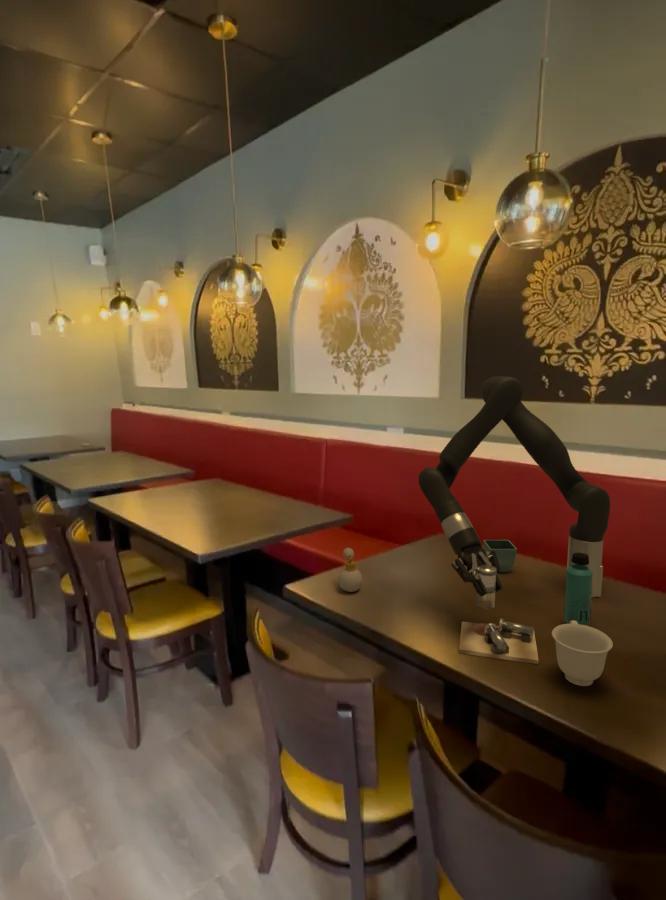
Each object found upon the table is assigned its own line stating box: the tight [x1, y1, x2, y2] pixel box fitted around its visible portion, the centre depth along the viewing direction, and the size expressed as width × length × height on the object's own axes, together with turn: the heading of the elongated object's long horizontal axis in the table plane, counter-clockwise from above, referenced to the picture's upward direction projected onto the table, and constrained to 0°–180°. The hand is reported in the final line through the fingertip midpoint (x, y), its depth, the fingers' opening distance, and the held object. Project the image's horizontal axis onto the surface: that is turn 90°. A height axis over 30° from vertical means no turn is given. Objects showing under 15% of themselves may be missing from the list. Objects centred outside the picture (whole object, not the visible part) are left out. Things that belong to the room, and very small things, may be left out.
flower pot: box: [483, 539, 518, 573], centre depth 175 cm, size 9×9×9 cm
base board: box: [458, 621, 539, 665], centre depth 130 cm, size 18×14×1 cm
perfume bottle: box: [338, 547, 364, 593], centre depth 162 cm, size 8×10×12 cm
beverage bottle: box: [563, 553, 593, 626], centre depth 136 cm, size 6×7×20 cm
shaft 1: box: [484, 622, 509, 654], centre depth 127 cm, size 8×4×4 cm, turn 3°
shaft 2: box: [498, 617, 535, 643], centre depth 131 cm, size 8×4×4 cm, turn 63°
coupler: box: [476, 564, 498, 610], centre depth 133 cm, size 5×5×10 cm
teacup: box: [551, 620, 614, 687], centre depth 116 cm, size 12×15×10 cm
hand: (491, 592), depth 131 cm, fingers closed on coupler, 4 cm apart
